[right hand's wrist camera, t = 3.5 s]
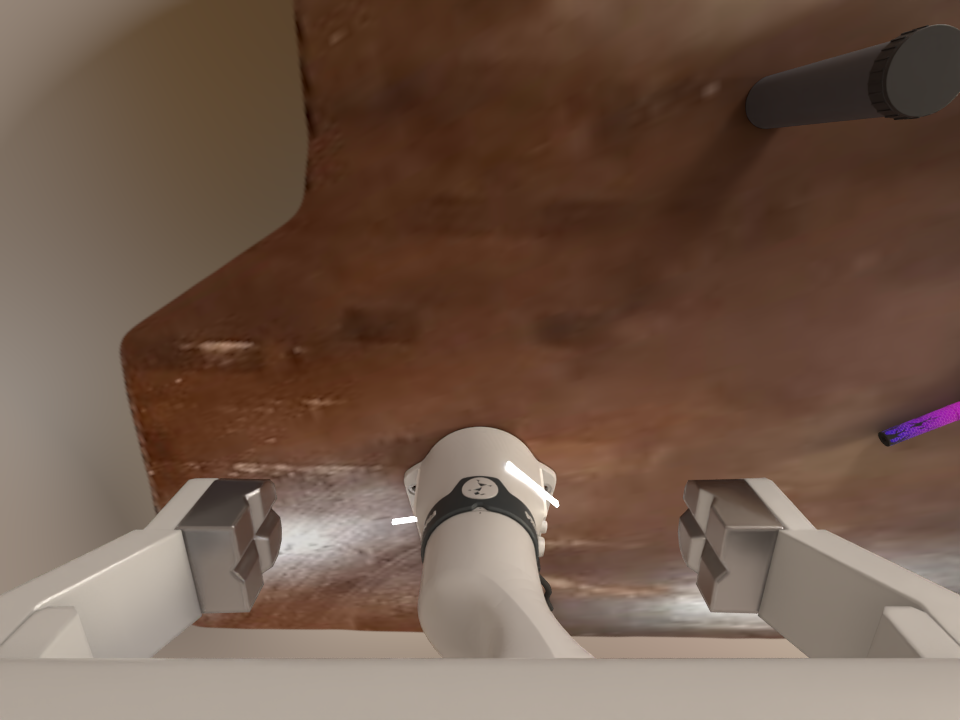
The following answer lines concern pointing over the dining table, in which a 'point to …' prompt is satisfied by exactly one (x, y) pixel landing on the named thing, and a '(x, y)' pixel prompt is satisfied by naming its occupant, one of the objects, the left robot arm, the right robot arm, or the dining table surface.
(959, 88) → the lid
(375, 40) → the dining table surface
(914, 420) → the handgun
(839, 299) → the dining table surface
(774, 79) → the dark grey cylinder
